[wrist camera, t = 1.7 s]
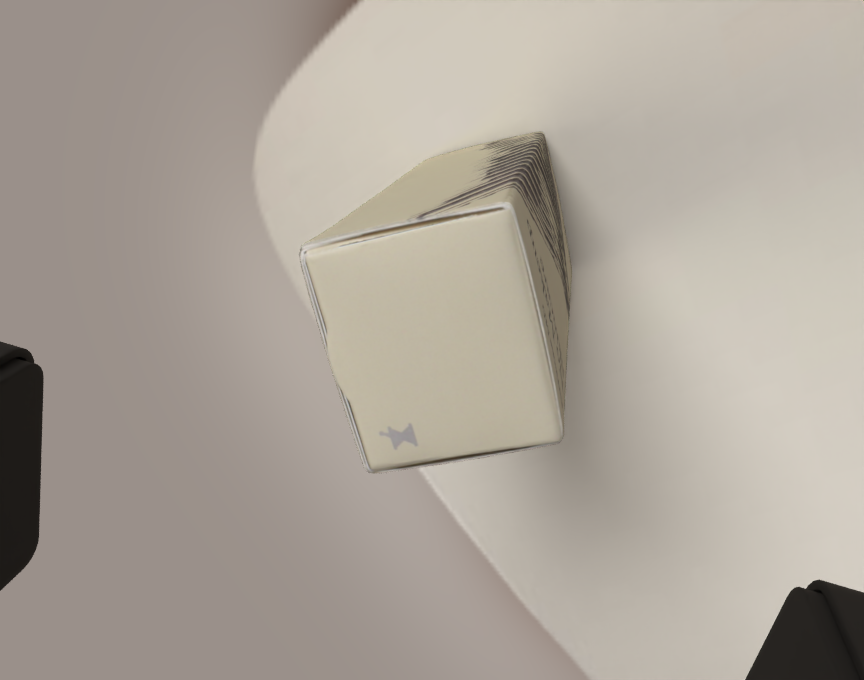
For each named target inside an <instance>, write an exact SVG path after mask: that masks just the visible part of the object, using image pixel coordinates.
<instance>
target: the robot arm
mask: <svg viewBox="0 0 864 680" xmlns="http://www.w3.org/2000/svg"><path fill="white" fill-rule="evenodd" d="M42 411H43V371H42V369H41V367H40V366H38V365H37V364H34V359H33V356H32V354H31V353H30V352H29V351H28V350H27V349H24V348H20V347H17V346H13V345H10V344H7V343H3V342H0V590H2V589H3V588H4V587H5V586H6V585H7V584H8V583H9V582H10V581H11V580H12V579H13V578H14V577H15V576H16V575H17V574H18V573H19V572H21V570H22V569H24V567H25V566H26V565H27V564H28V563H29V561H30V560H31V558H32V557H33V555H34V552H35V550H36V547H37V544H38V538H39V514H40V479H41V476H40V475H41V445H42ZM745 680H864V593H863V592H860V591H856V590H853V589H849V588H846V587H843V586H839V585H836V584H832V583H829V582H825V581H822V580H816V581H813V582H812V583H811V584H810V585H808V587H807V588H806V589H804V588H801V587H796V588H794V589H793V590H792V591H791V592H790V593H789V595H788V597H787V598H786V600H785V602H784V604H783V606H782V608H781V610H780V612H779V614H778V616H777V618H776V620H775V622H774V624H773V626H772V628H771V630H770V632H769V634H768V636H767V638H766V640H765V642H764V644H763V646H762V648H761V650H760V652H759V654H758V656H757V658H756V660H755V662H754V664H753V666H752V668H751V670H750V672H749V673H748V675H747V677H746V679H745Z"/></svg>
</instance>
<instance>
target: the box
mask: <svg viewBox="0 0 864 680" xmlns="http://www.w3.org/2000/svg"><path fill="white" fill-rule="evenodd" d="M299 256H300V263H301V268H302V271H303V274H304V278H305V282H306V286H307V290H308V293H309V297H310V300H311V303H312V307H313V310H314V313H315V316H316V320H317V324H318V327H319V330H320V334H321V337H322V341H323V344H324V348H325V351H326V354H327V357H328V361H329V364H330V367H331V370H332V373H333V376H334V379H335V382H336V385H337V388H338V391H339V394H340V398H341V401H342V404H343V406H344V410H345V413H346V416H347V419H348V422H349V425H350V428H351V431H352V434H353V437H354V440H355V443H356V446H357V448H358V451H359V454H360V457H361V460H362V464H363V467H364V469H365V470H366V471H367V472H369V473H387V472H393V471H399V470H406V469H413V468H419V467H426V466H434V465H441V464H447V463H453V462H459V461H465V460H472V459H478V458H484V457H489V456H494V455H499V454H507V453H512V452H518V451H524V450H529V449H534V448H540V447H544V446H549V445H554V444H557V443H559V442H560V441H561V440H562V439H563V436H564V409H565V388H566V367H567V347H568V332H569V310H570V296H571V278H572V267H571V261H570V256H569V250H568V244H567V238H566V232H565V227H564V221H563V216H562V210H561V205H560V200H559V195H558V190H557V185H556V181H555V177H554V173H553V169H552V164H551V160H550V155H549V151H548V147H547V142H546V138H545V135H544V134H543V132H534V133H530V134H525V135H520V136H515V137H511V138H506V139H502V140H497V141H493V142H488V143H484V144H480V145H475V146H471V147H467V148H464V149H460V150H456V151H453V152H449V153H446V154H442V155H439V156H436V157H432V158H429V159H427V160H425V161H423V162H422V163H420V164H419V165H418V166H416V167H415V168H413V169H412V170H411V171H409V172H408V173H406V174H405V175H403V176H402V177H401V178H400V179H398V180H397V181H395V182H394V183H393V184H391V185H390V186H389V187H387V188H386V189H384V190H383V191H381V192H380V193H379V194H377V195H376V196H374V197H373V198H371V199H370V200H369V201H367V202H366V203H364V204H363V205H362V206H360V207H359V208H357V209H356V210H354V211H353V212H352V213H350V214H349V215H348V216H346V217H345V218H343V219H342V220H340V221H339V222H337V223H336V224H335V225H333V226H332V227H331V228H329V229H327V230H326V231H324V232H323V233H321V234H320V235H318V236H316V237H315V238H313V239H311V240H309V241H307V242H305V243H304V244H303V245H302V246H301V249H300V254H299Z"/></svg>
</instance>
